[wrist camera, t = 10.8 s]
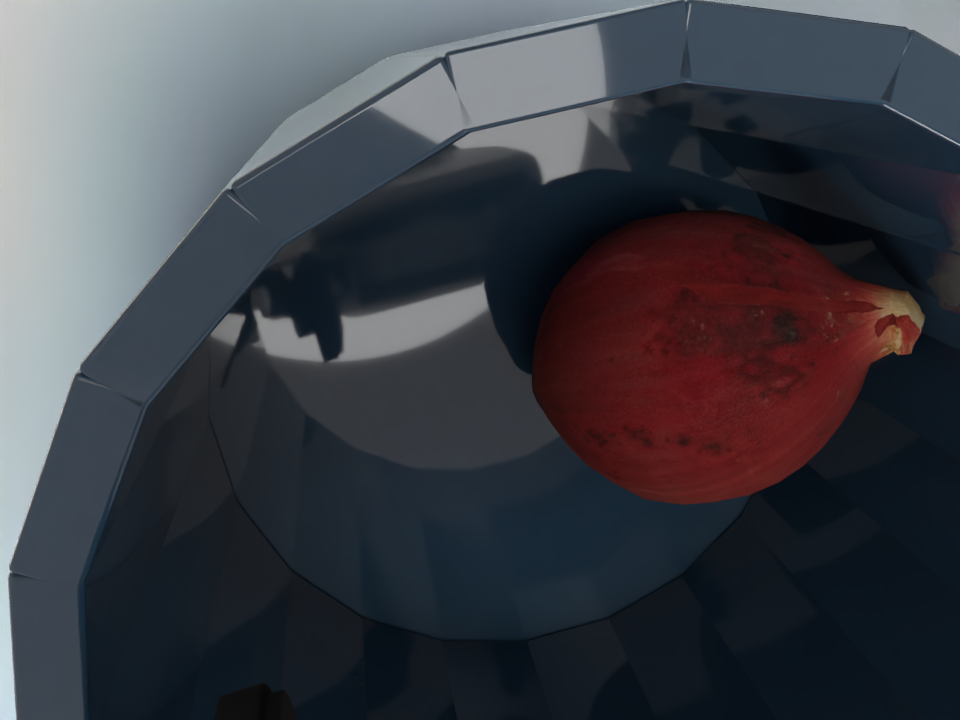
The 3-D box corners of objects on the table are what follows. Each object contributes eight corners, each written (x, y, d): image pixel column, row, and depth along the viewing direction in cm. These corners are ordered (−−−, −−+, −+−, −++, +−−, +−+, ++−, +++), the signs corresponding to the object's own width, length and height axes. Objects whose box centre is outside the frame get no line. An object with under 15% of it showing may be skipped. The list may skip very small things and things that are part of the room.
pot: (26, 277, 19) (-332, 526, 9) (654, -109, 19) (1042, -316, 8) (404, 749, 25) (454, 1245, 14) (901, 460, 24) (1324, 759, 14)
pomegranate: (461, 521, 17) (900, 474, 12) (442, 239, 19) (834, 96, 14) (617, 517, 22) (984, 481, 17) (592, 289, 23) (929, 195, 18)
